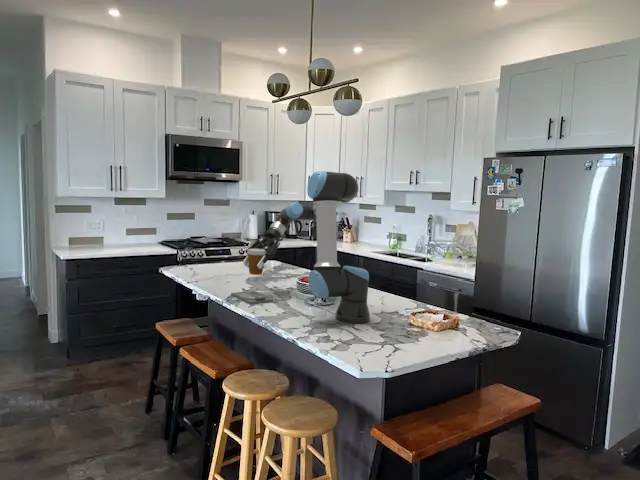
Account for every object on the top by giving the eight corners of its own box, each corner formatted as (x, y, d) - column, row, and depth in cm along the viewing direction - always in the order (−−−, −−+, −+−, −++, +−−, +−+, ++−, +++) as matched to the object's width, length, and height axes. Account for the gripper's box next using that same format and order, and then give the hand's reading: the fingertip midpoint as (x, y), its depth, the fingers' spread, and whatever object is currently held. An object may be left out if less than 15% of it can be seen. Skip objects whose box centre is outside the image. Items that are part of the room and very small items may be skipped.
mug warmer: (231, 295, 244) (231, 289, 243) (253, 293, 251) (253, 287, 251) (250, 304, 228) (250, 298, 228) (273, 301, 236) (274, 295, 235)
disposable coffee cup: (261, 276, 234) (262, 251, 232) (243, 274, 236) (244, 250, 234) (268, 272, 243) (269, 249, 242) (250, 271, 245) (251, 247, 244)
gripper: (294, 239, 243) (271, 274, 232) (263, 234, 256) (239, 266, 245) (288, 229, 238) (264, 264, 227) (256, 224, 251) (232, 257, 241)
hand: (251, 265), depth 236 cm, fingers closed on disposable coffee cup, 9 cm apart
